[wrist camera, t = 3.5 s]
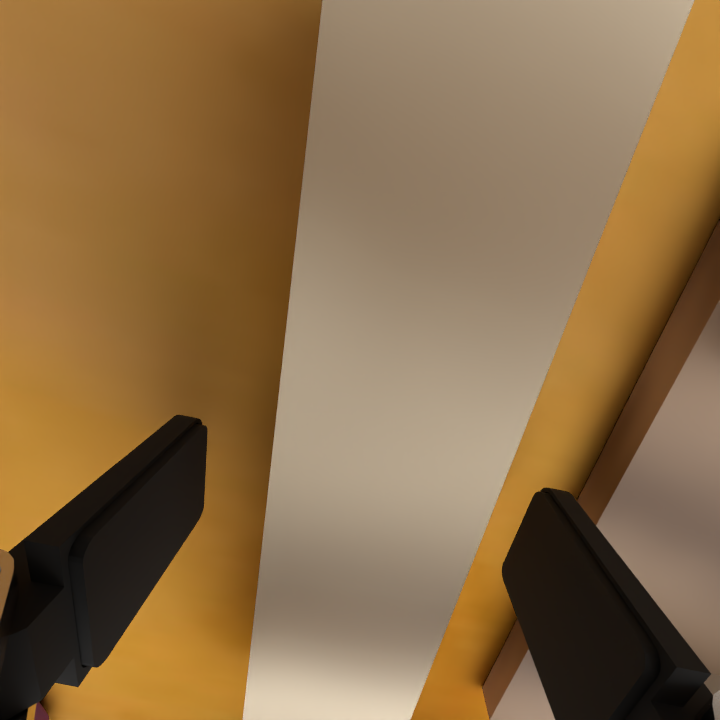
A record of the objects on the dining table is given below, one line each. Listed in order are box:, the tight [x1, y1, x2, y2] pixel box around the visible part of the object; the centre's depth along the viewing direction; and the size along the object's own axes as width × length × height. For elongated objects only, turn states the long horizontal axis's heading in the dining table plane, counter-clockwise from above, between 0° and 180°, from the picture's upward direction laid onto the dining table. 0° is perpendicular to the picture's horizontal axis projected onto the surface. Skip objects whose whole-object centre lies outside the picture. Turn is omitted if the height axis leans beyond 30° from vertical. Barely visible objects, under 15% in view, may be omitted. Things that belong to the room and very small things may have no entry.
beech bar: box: [243, 0, 694, 720], centre depth 9 cm, size 22×4×5 cm, turn 170°
